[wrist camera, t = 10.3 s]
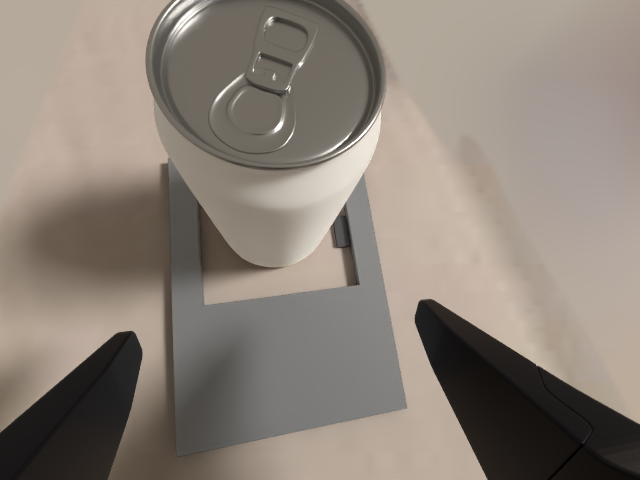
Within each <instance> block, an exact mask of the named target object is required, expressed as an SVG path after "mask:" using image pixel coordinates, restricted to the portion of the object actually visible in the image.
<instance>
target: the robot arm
mask: <svg viewBox="0 0 640 480" xmlns="http://www.w3.org/2000/svg"><path fill="white" fill-rule="evenodd" d="M415 324H416V327H417V330H418V332H419V335H420V338H421V340H422V343H423V346H424V348H425V351H426V354H427V356H428V359H429V361H430V364H431V366H432V368H433V371H434V373H435V375H436V377H437V379H438V381H439V383H440V385H441V387H442V389H443V391H444V393H445V395H446V397H447V399H448V401H449V403H450V405H451V407H452V409H453V411H454V413H455V415H456V417H457V419H458V421H459V423H460V425H461V427H462V429H463V431H464V433H465V435H466V437H467V439H468V441H469V443H470V445H471V447H472V449H473V451H474V453H475V455H476V457H477V459H478V461H479V463H480V465H481V467H482V469H483V471H484V473H485V475H486V477H487V479H488V480H640V424H638V423H636V422H634V421H633V420H631V419H629V418H627V417H625V416H624V415H622V414H620V413H618V412H616V411H615V410H613V409H611V408H609V407H607V406H605V405H604V404H602V403H600V402H598V401H596V400H595V399H593V398H591V397H589V396H588V395H586V394H584V393H582V392H581V391H579V390H577V389H575V388H574V387H572V386H570V385H569V384H567V383H565V382H564V381H562V380H560V379H559V378H557V377H555V376H554V375H552V374H551V373H549V372H547V371H546V370H544V369H543V368H541V367H539V366H536V364H535V363H533V362H531V361H530V360H528V359H527V358H525V357H523V356H522V355H520V354H519V353H517V352H515V351H514V350H512V349H511V348H509V347H507V346H506V345H504V344H503V343H501V342H500V341H498V340H496V339H495V338H493V337H492V336H490V335H488V334H487V333H485V332H484V331H482V330H480V329H479V328H477V327H476V326H474V325H473V324H471V323H469V322H468V321H466V320H465V319H463V318H461V317H460V316H458V315H457V314H455V313H453V312H452V311H450V310H449V309H447V308H445V307H444V306H442V305H441V304H439V303H438V302H436V301H434V300H432V299H425V300H420V301H419V303H418V307H417V311H416V314H415ZM141 361H142V348H141V346H140V343H139V341H138V338H137V336H136V334H135V333H134V332H133V331H126V332H119V333H117V334H115V335H114V336H113V337H111V338H110V339H109V340H108V341H107V342H106V343H104V344H103V345H102V346H101V347H100V348H99V349H97V350H96V351H95V352H94V353H93V354H92V355H90V356H89V357H88V358H87V359H86V360H85V361H83V362H82V363H81V364H80V365H79V366H78V367H76V368H75V369H74V370H73V371H72V372H71V373H69V374H68V375H67V376H66V377H65V378H64V379H62V380H61V381H60V382H59V383H58V384H57V385H55V386H54V387H53V388H52V389H51V390H50V391H48V392H47V393H46V394H45V395H44V396H43V397H41V398H40V399H39V400H38V401H37V402H36V403H34V404H33V405H32V406H31V407H30V408H29V409H27V410H26V411H25V412H24V413H23V414H22V415H20V416H19V417H18V418H17V419H16V420H14V421H13V422H12V423H11V424H10V425H9V426H7V427H6V428H5V429H4V430H3V431H2V432H0V480H108V477H109V474H110V471H111V468H112V465H113V462H114V459H115V456H116V453H117V450H118V447H119V444H120V441H121V438H122V435H123V432H124V429H125V426H126V423H127V420H128V417H129V413H130V410H131V406H132V402H133V398H134V393H135V388H136V384H137V379H138V375H139V370H140V365H141Z"/></svg>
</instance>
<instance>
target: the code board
mask: <svg viewBox="0 0 640 480" xmlns="http://www.w3.org/2000/svg"><path fill="white" fill-rule="evenodd" d="M168 178H169V214H170V251H171V287H172V324H173V360H174V397H175V433H176V457H180V456H184V455H189V454H194V453H199V452H203V451H208V450H213V449H217V448H222V447H227V446H232V445H236V444H241V443H246V442H251V441H255V440H260V439H265V438H269V437H274V436H279V435H284V434H288V433H293V432H298V431H302V430H307V429H312V428H317V427H321V426H326V425H331V424H335V423H340V422H345V421H350V420H354V419H359V418H364V417H369V416H373V415H378V414H383V413H387V412H392V411H397V410H402V409H406V408H407V404H406V399H405V394H404V388H403V383H402V377H401V372H400V367H399V361H398V356H397V350H396V345H395V340H394V334H393V329H392V324H391V318H390V313H389V307H388V302H387V297H386V291H385V286H384V280H383V275H382V270H381V264H380V259H379V254H378V248H377V243H376V237H375V232H374V227H373V221H372V216H371V210H370V205H369V200H368V194H367V189H366V183H365V178H364V173H363V175H362V177H361V178H360V180H359V182H358V183H357V185H356V187H355V188H354V190H353V191H352V193H351V195H350V196H349V198H348V200H347V201H346V203H345V204H344V208H345V214H346V218H345V216H337V217H336V219H335V220H334V222H333V225H334V232H335V238H336V245H337V248H341V247H349V246H350V245H351V251H352V257H353V263H354V269H355V275H356V281H357V285H356V286H348V287H341V288H333V289H326V290H318V291H311V292H303V293H296V294H288V295H281V296H273V297H265V298H258V299H250V300H243V301H235V302H228V303H220V304H213V305H205V306H204V295H203V275H202V255H201V236H200V216H199V202H198V200H197V199H196V197H195V196H194V194H193V193H192V191H191V190H190V188H189V187H188V185H187V184H186V182H185V181H184V179H183V178H182V176H181V175H180V173H179V172H178V170H177V169H176V167H175V166H174V164H173V162H172V161H171V159H170V158H168ZM346 220H347V225H346ZM347 227H348V231H347ZM348 233H349V237H348ZM349 239H350V243H349Z"/></svg>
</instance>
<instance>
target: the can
mask: <svg viewBox="0 0 640 480" xmlns="http://www.w3.org/2000/svg"><path fill="white" fill-rule="evenodd" d="M146 73H147V78H148V82H149V86H150V89H151V92H152V94H153V97H154V115H155V122H156V126H157V130H158V133H159V136H160V139H161V141H162V143H163V146H164V148H165V150H166V152H167V154H168V156H169V157H170V159H171V161H172V162H173V164H174V166H175V167H176V169H177V170H178V172H179V173H180V175H181V176H182V178H183V179H184V181H185V182H186V184H187V185H188V187H189V188H190V190H191V191H192V193H193V194H194V196H195V197H196V199H197V200H198V202H199V203H200V204H201V206H202V207H203V209H204V210H205V212H206V213H207V215H208V216H209V217H210V219H211V220H212V222H213V223H214V225H215V226H216V228H217V229H218V230H219V232H220V233H221V235H222V236H223V237H224V239H225V240H226V242H227V243H228V244H229V246H230V247H231V248H232V249H233V250H234V251H235V252H236V253H237V254H238V255H239V256H240V257H241V258H243V259H244V260H246V261H248V262H250V263H252V264H255V265H259V266H264V267H285V266H289V265H292V264H295V263H297V262H299V261H301V260H303V259H304V258H306V257H307V256H309V255H310V254H311V253H312V252H313V251H314V250H315V249H316V247H317V246H318V245H319V244H320V242H321V241H322V239H323V238H324V236H325V234H326V233H327V231H328V230H329V228H330V227H331V225H332V224H333V222H334V220H335V219H336V217H337V216H338V214H339V212H340V211H341V209H342V208H343V206H344V204H345V203H346V201H347V200H348V198H349V196H350V195H351V193H352V191H353V190H354V188H355V187H356V185H357V183H358V182H359V180H360V178H361V177H362V175H363V173H364V171H365V170H366V168H367V166H368V164H369V162H370V160H371V158H372V156H373V153H374V151H375V148H376V145H377V142H378V138H379V133H380V124H381V108H382V105H383V102H384V98H385V92H386V67H385V62H384V58H383V54H382V51H381V49H380V46H379V44H378V42H377V39H376V38H375V36H374V34H373V32H372V31H371V29H370V28H369V26H368V25H367V23H366V22H365V21H364V20H363V18H362V17H361V16H360V15H359V14H358V13H357V12H356V11H355V10H354V9H353V8H352V7H351V6H350V5H349V4H348V3H346V2H345V1H344V0H172V1H171V2H170V3H169V4H168V5H167V6H166V7H165V8H164V9H163V11H162V12H161V13H160V15H159V16H158V18H157V20H156V21H155V23H154V25H153V28H152V30H151V32H150V35H149V39H148V43H147V48H146Z"/></svg>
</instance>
